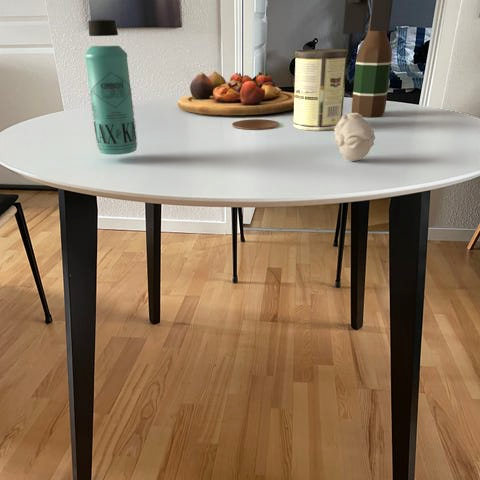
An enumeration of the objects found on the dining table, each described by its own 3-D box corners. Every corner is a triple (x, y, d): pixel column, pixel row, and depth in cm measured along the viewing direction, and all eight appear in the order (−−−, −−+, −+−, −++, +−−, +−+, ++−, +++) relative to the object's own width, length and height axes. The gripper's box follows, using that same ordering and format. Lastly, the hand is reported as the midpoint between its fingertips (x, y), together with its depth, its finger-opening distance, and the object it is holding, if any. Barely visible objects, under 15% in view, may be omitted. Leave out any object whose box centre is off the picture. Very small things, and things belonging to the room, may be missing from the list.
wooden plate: (306, 117, 114) (308, 77, 110) (168, 118, 116) (165, 79, 111) (298, 97, 141) (300, 65, 137) (187, 99, 143) (185, 66, 138)
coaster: (286, 123, 109) (286, 121, 108) (267, 131, 101) (267, 129, 101) (245, 119, 113) (245, 118, 112) (224, 127, 105) (223, 125, 105)
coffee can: (306, 120, 111) (309, 48, 104) (349, 124, 106) (356, 49, 99) (283, 128, 104) (285, 51, 96) (328, 132, 99) (335, 52, 91)
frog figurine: (353, 153, 84) (358, 108, 80) (381, 162, 78) (387, 115, 75) (323, 157, 82) (327, 112, 78) (350, 167, 76) (355, 118, 73)
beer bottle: (353, 117, 113) (366, -9, 100) (348, 112, 119) (359, -8, 107) (388, 117, 113) (405, -10, 100) (381, 111, 119) (396, -9, 107)
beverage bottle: (93, 159, 83) (70, 19, 73) (129, 153, 87) (112, 18, 76) (109, 166, 79) (87, 19, 68) (147, 159, 82) (131, 18, 72)
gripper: (383, -147, 69) (364, 29, 80) (325, -208, 50) (311, 35, 61) (439, -155, 66) (412, 30, 77) (400, -222, 47) (371, 35, 58)
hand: (367, 32), depth 69 cm, fingers open, 13 cm apart
